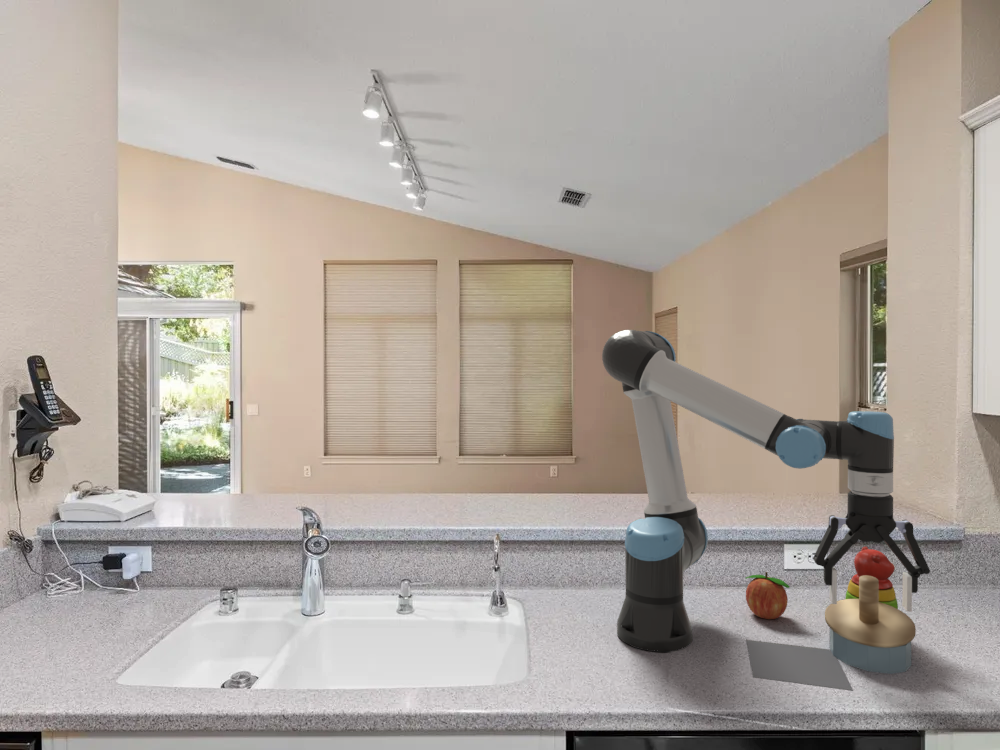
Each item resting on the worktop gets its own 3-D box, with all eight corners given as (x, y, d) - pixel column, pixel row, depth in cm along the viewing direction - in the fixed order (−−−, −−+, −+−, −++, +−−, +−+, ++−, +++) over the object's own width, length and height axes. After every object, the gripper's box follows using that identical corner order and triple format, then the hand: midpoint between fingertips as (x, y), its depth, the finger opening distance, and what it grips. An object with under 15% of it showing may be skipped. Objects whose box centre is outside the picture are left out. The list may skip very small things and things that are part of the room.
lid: (832, 643, 116) (832, 597, 114) (819, 599, 130) (818, 558, 128) (927, 651, 111) (927, 603, 109) (902, 605, 125) (902, 562, 123)
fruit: (777, 628, 133) (777, 582, 133) (735, 614, 141) (735, 570, 141) (796, 618, 139) (796, 573, 139) (755, 605, 146) (755, 563, 146)
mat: (753, 678, 112) (753, 676, 112) (745, 640, 127) (745, 639, 127) (853, 692, 107) (853, 690, 107) (833, 651, 123) (833, 649, 123)
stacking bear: (911, 648, 124) (911, 559, 123) (855, 644, 126) (855, 556, 126) (889, 626, 134) (890, 544, 134) (838, 622, 136) (838, 541, 136)
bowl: (838, 668, 116) (838, 641, 115) (824, 639, 128) (824, 614, 128) (920, 679, 112) (920, 651, 112) (897, 647, 124) (897, 622, 124)
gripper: (804, 492, 119) (803, 605, 120) (951, 500, 112) (950, 620, 113) (797, 485, 127) (797, 591, 127) (936, 492, 119) (935, 605, 120)
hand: (869, 605), depth 120 cm, fingers open, 12 cm apart
